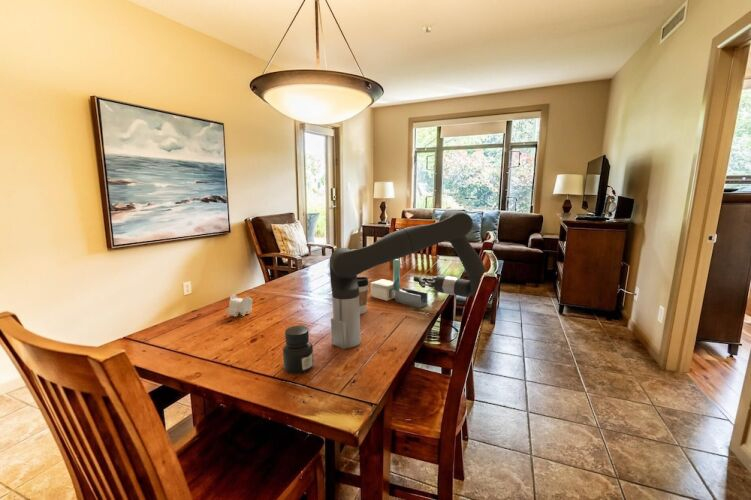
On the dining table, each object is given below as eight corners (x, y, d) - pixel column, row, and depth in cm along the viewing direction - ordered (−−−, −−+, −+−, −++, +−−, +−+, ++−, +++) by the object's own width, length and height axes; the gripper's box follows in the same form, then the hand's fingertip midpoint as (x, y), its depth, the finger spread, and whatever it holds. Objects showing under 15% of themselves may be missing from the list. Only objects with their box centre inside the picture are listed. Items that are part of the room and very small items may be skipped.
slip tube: (402, 300, 159) (402, 261, 155) (377, 293, 169) (376, 257, 166) (407, 298, 161) (407, 260, 158) (382, 291, 172) (381, 256, 168)
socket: (386, 300, 162) (386, 286, 160) (370, 296, 169) (370, 282, 167) (398, 296, 168) (398, 282, 167) (382, 292, 175) (382, 278, 174)
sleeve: (419, 308, 151) (419, 296, 150) (395, 301, 160) (395, 290, 159) (427, 304, 155) (427, 292, 154) (403, 298, 164) (403, 287, 163)
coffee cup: (366, 315, 143) (365, 281, 141) (347, 314, 145) (346, 280, 142) (371, 308, 152) (370, 276, 149) (352, 307, 153) (351, 275, 150)
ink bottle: (312, 375, 99) (309, 336, 96) (281, 376, 98) (278, 338, 96) (315, 358, 108) (313, 323, 106) (287, 360, 108) (284, 324, 105)
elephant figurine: (220, 318, 144) (218, 298, 142) (243, 309, 154) (241, 290, 153) (236, 322, 139) (234, 301, 138) (258, 312, 150) (257, 293, 148)
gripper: (455, 273, 147) (422, 267, 159) (439, 279, 137) (405, 273, 149) (455, 289, 148) (422, 283, 160) (439, 297, 139) (405, 289, 150)
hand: (414, 278), depth 154 cm, fingers closed
